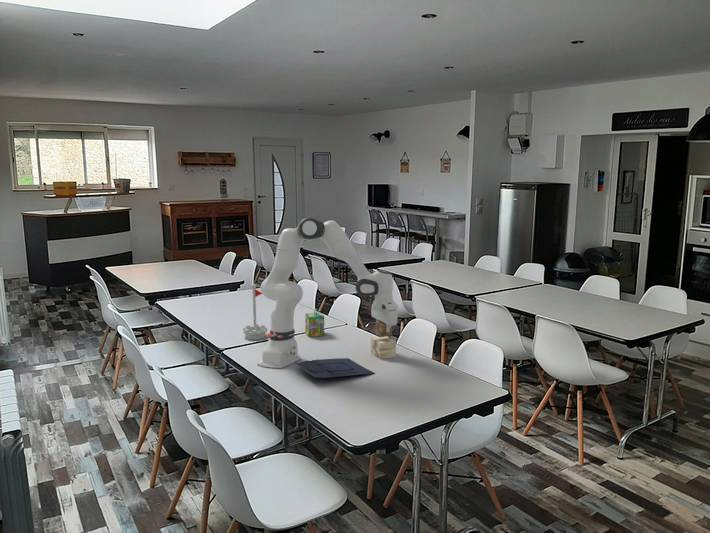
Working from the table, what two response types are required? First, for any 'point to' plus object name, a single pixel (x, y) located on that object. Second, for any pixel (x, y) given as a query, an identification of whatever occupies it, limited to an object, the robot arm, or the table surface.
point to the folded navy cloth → (333, 367)
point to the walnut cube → (382, 329)
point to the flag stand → (255, 330)
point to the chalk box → (314, 324)
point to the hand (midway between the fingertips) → (383, 330)
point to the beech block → (383, 347)
